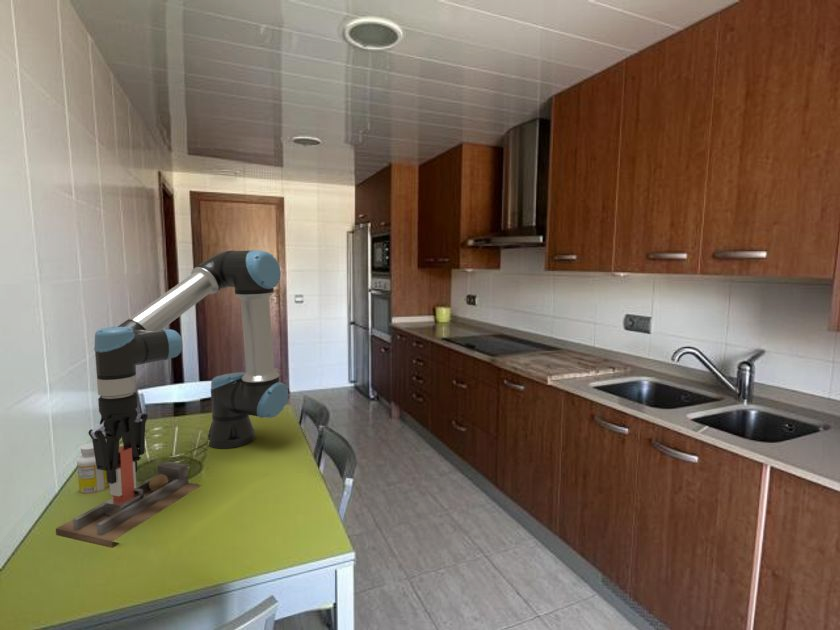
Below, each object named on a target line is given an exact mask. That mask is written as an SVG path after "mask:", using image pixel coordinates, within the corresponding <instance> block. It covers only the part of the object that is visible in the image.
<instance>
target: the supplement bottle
mask: <svg viewBox="0 0 840 630" xmlns="http://www.w3.org/2000/svg"><path fill="white" fill-rule="evenodd" d="M80 453H81V454H82V455H81V456H79V457H78V458H77V460H76V467H77V479H78V491H79V493H80V494H81V493H82V494H92V493H97V492H101V491H103V490H105V489H107V488H109V487H110V483H108V482H107V475H106V471H104V470H98V469H97V467H96V460H95V454H94V448H93V442H89V443H86V444H83V445H81V447H80Z"/></svg>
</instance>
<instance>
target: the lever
mask: <svg viewBox="0 0 840 630" xmlns="http://www.w3.org/2000/svg"><path fill="white" fill-rule="evenodd" d="M117 468H121V482H122V495H121V496H115V495H112V498H110V499H108V500H106V501H104V502H103V503H104V512H105V515H108V516H112V515H114V514H115V513H117V512H119V511H121V510H122V509H124V508H126V507H128V506H129V505H131V504H133V503H135V502H137V501H138V500H140V499H142V498H143V489H138V488H134V478H133V461H132V447H125V446H124V445H121V446H120V445H119V452H118V464H117Z"/></svg>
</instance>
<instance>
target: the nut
mask: <svg viewBox="0 0 840 630" xmlns="http://www.w3.org/2000/svg"><path fill="white" fill-rule="evenodd" d="M150 478H151V480H150V482H149V488H150V489H151V490H152V491H153V492H154V491H156V490H158V489H160V488H161V487H163V486H165V485H167V484H168V483H169V480H168V478H167V476H165V475H163V474H156V475H154V476H152V477H150Z"/></svg>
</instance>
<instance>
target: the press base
mask: <svg viewBox="0 0 840 630" xmlns="http://www.w3.org/2000/svg"><path fill="white" fill-rule="evenodd" d="M156 471H157V473H156V475H158V474H163V475H165V476H167V478H168V480H169V483H168V484H167V485H165V486H163V487H161V488H160V489H158V490H156V491H154V492H153V491H152V490H151V489H150V488H149V482H150V480H151V478H152V477H150V478H147V479H146V480H144V481H143V482H141V483H139V484H136V488H138V489H143V498H142V499H140V500H138V501H137V502H135V503H133V504H131V505H129V506H128V507H126V508H124V509H122V510H121V511H119V512H117V513H115V514H114V515H112V516H108V515H105V512H104V502H102V503H101V504H99V505H97V506H95V507H93V508H92V509H89V510H87V511H85V512H84V513H82V514H80V515H78V516H77V517H74V518H72V519H71V520H69V521H68V522H65V523H64V524H61V525H60V526H58V527H56V528H55V536H60V537H63V538H67V539H72V540H77V541H79V542H80V541H81V542H86V543H89V544H94V545H98V546H103V547H106V548H107V547H108V548H111V549H112V548H114V547H116V546H118V545H119V544H120V542H116V541H115V540H117V539H118V538H120V537H122V536H124V534H126V533H128V532H129V531H131V530H132V529H134V528H136V527H137V526H139V525H140V524H143V523H144V522H146V520H149V519H150V518H152V517H153V516H155V515H157V514H158V513H160V512H162V511H163V510H165V509H166V508H168V507H169V506H171V505H172V504H174V503H176V502H177V501H179V500H181V499H182V498H184V497H186V496H187V495H190V493H192V492H194V491H195V490H196V489H198V488H200V487H202V484H198V483H192V482H189V475H188V474H189V473H188V472H189V470H188V464H186V463H185V464H183V463H178V462H171V461H165V462H163V463H161V464H159V465H157V466H156Z"/></svg>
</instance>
